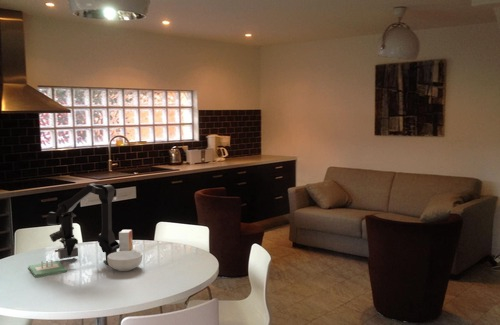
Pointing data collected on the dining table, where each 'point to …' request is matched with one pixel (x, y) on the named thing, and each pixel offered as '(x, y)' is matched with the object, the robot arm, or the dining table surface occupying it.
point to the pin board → (47, 268)
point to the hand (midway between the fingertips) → (68, 254)
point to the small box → (125, 240)
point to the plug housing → (63, 253)
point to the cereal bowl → (124, 260)
